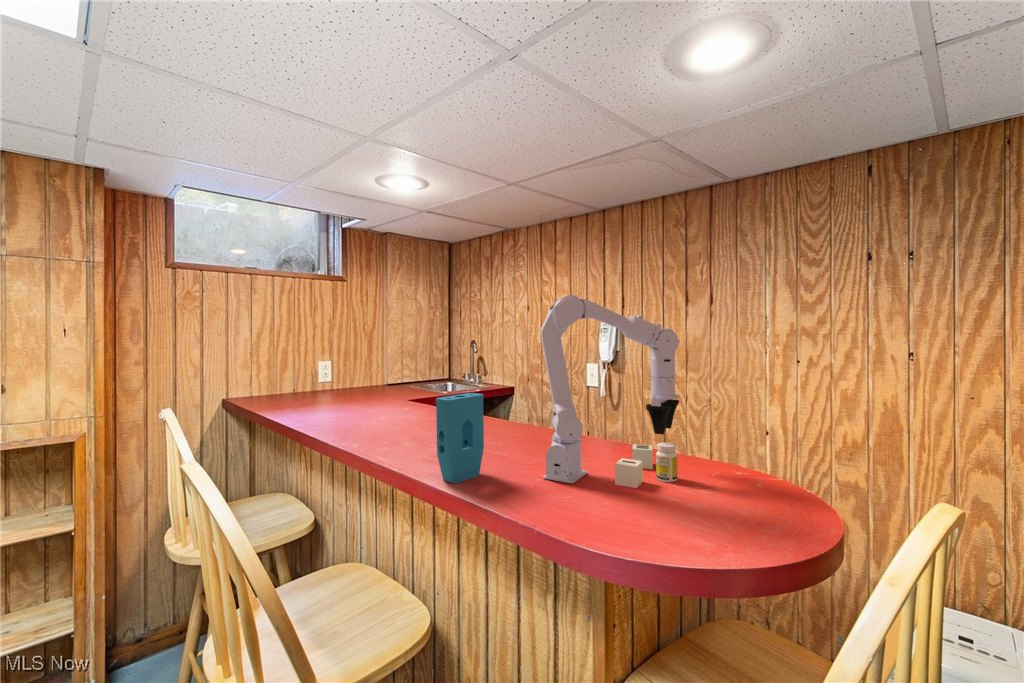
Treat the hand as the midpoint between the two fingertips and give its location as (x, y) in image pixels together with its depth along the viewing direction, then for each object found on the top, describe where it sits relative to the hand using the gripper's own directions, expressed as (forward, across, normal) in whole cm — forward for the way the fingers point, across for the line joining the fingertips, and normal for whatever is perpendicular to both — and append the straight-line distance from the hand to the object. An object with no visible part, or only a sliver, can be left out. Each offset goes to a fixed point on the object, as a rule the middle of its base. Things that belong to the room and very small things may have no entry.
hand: (663, 430), depth 115 cm
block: (+11, -28, +42) cm, 52 cm away
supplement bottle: (+11, -5, -2) cm, 12 cm away
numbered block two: (+11, +3, +6) cm, 13 cm away
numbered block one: (+10, -12, +5) cm, 17 cm away
